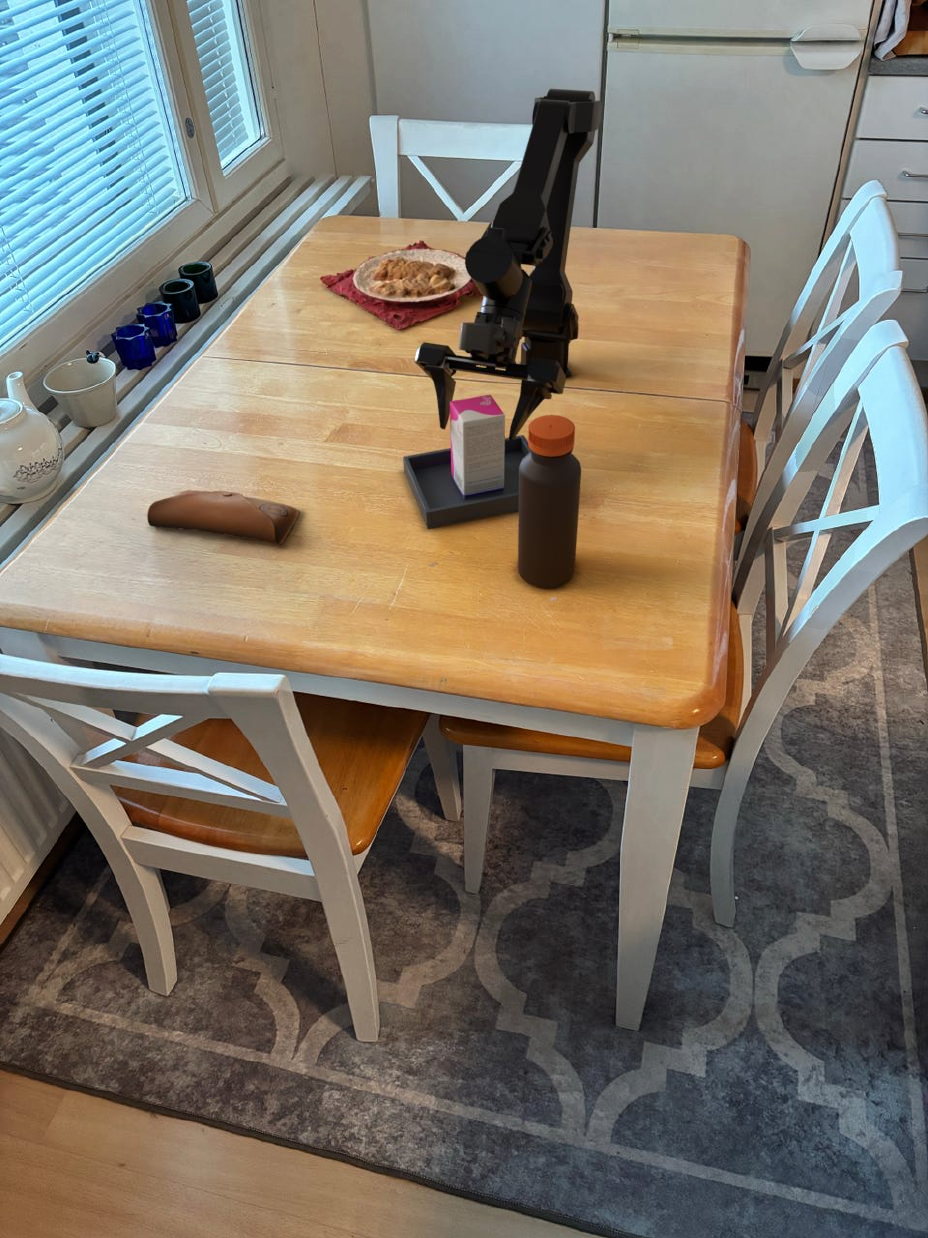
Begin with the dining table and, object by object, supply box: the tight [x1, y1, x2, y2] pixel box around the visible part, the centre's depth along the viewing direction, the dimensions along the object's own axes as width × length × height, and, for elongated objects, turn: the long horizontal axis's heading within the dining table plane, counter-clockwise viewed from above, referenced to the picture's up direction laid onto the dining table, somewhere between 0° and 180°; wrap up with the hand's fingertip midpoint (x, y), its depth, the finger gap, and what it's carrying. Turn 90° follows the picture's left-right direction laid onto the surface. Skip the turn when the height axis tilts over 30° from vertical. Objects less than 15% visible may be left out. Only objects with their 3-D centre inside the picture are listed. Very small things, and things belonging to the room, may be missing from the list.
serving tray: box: [402, 434, 530, 530], centre depth 125 cm, size 17×13×3 cm
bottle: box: [517, 414, 582, 589], centre depth 106 cm, size 7×7×20 cm
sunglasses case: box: [146, 489, 301, 545], centre depth 121 cm, size 18×7×7 cm
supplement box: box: [449, 394, 506, 499], centre depth 122 cm, size 6×6×12 cm
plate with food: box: [319, 239, 483, 330], centre depth 171 cm, size 24×26×4 cm
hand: (476, 434), depth 120 cm, fingers open, 9 cm apart
